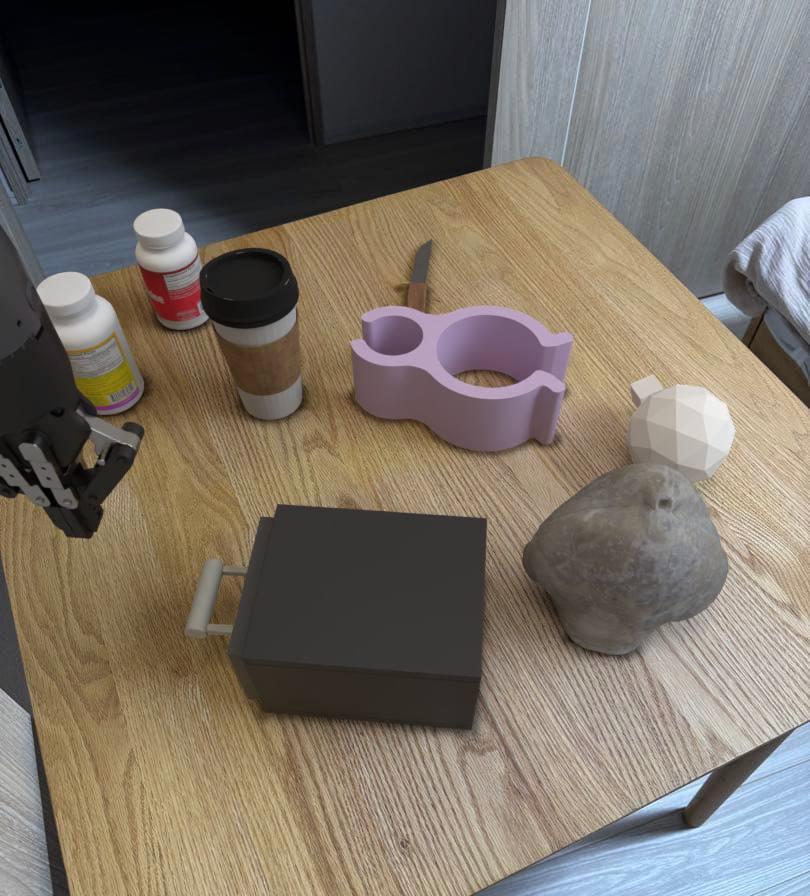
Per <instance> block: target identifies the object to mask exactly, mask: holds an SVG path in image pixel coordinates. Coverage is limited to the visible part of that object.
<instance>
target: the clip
mask: <svg viewBox="0 0 810 896" xmlns="http://www.w3.org/2000/svg"><path fill="white" fill-rule="evenodd" d="M360 319H361V320H360V322H361V333H362V338H357V339H353V340H351V341H350V354H351V364H352V376H353V387H354V388H353V390H354V397H355V401H356V403H357V404H358V405H359V406H360V408H361V409H362V410H364V411H365V412H366V413H368V414H370V415H372V416H374V417H377V418H379V419H385V420H414V421H418V422H421V423H422V424H424V425H426V426H427V427H428V428H429V429H430V430H431V431H432V432H433V433H434V434H435V435H436V436H438V437H439V438H440V439H442V440H444V441H445V442H446V443H449V444H451V445H453V446H455V447H457V448H461V449H464V450H467V451H475V452H499V451H503V450H504V451H505V450H508V449H512V448H514V447H518V446H520V445H521V444H524V443H525V442H527V441H528V440H530V439H535V440H536V441H538V442H539V443H540V444H541V445H543V446H548V445H551V444H552V443H553V442H554V439H555V434H556V431H557V426H558V421H559V417H560V413H561V410H562V405H563V400H564V396H565V392H566V386H567V385H566V384H565V379H566V375H567V370H568V365H569V362H570V357H571V352H572V347H573V344H574V339H575V337H574V336H573V334H572V333H571V332H570V331H569V332H568V331H562V332H560V333H559V332H558V333H551V332H550V331H549V330H548V329H547V327H545V325H544V324H543V323H541V322H540V321H538V320H537V319H536V318H534V317H532V316H531V315H529V314H526V313H525V312H522V311H520V310H517V309H514V308H510V307H505V306H500V305H489V304H486V305H485V304H484V305H482V304H481V305H473V306H467V307H461V308H459V309H456V310H453V311H450V312H447V313H442V314H431V313H426V312H425V313H423V312H420V311H418V310H415V309H412V308H409V307H407V306H403V305H402V306H401V305H387V306H381V307H376V308H374V309H371V310H369V311H367V312H365V313H363V314H362V315H361V316H360ZM473 370H474V371H476V370H486V371H487V370H488V371H494V372H498V373H502V374H505V375H507V376H509V377H511V378H513V379H514V380H516V381H517V383H514V384H511V385H507V386H500V387H485V386H484V387H483V386H478V385H474V384H470V383H466V382H465V381H462V380H460V379H458V378H456V377H454V376H455V375H458V374H461V373H464V372H469V371H473Z"/></svg>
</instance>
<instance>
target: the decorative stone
mask: <svg viewBox="0 0 810 896" xmlns="http://www.w3.org/2000/svg"><path fill="white" fill-rule="evenodd" d="M715 525H716V524H714V522H713V520H712V518H711V513H710V510H709V507H708V506H707V504H706V502H705V501H704V499H703V498H702V496H701V495H700V492H699V490H698V489H697V488H696V486H695V485H694V483H692V482H691V481H690V480H689V479H687V478H686V477H685V476H684V475H683V474H682V473H680V472H679V471H677V470H676V469H674V468H671V467H669V466H666V465H661V464H656V463H637V464H633V463H632V464H629V465H624V466H622V467H618V468H614V469H613V470H610V471H608V472H604V473H602V474H601V475H599V476H597V477H595V478H594V479H593V480H591V481H589V482H588V483H587V484H585V485H584V486H582V487H581V488H580V489H579V490H578V491H577V492H576V493H575V494H574V495H573V496H572V495H571V497H569V498H567V500H565V501H564V502H563V503H562V504H560V505H559V506H557V508H556V509H554V510H553V511H552V512H551V513H550V514H549V516H548V517H546V518H545V519H544V520H543V521H542V522H541V523H540V524H539V526H538V529H537V530H536V531H535V533H533V536H532V538H531V539H530V540H529V541H528V542H527V543H526V544H525V545H524V547H523V549H522V561H521V563H522V567H523V571H524V572H525V574H526V575H527V577H528V578H529V579H530V580H531V581H532V582H533V583H535V584H537V585H539V586H540V587H541V588H543V589H544V590H546V591H547V592H548V593H549V595H550V597H551V599H552V601H553V603H554V605H555V608H556V611H557V616H558V619H559V622H560V624H561V627H562V628H563V630H564V631H565V633H566V634H567V635H568V636H569V638H570V639H571V640H572V642H573V643H575V644H576V645H578V646H580V647H581V648H583V649H586V650H588V651H589V650H590V651H595V652H600V653H604V654H606V655H609V656H622V655H626V654H628V653H631V652H632V651H635V650H636V649H638V648H639V646H640V645H641V643H642V641H643V640H645V639H647V638H648V637H649V636H650V635H651V634H653V632H654V631H655V630H657V628H659V627H661V626H663V625H666V624H668V623H672V622H673V623H674V622H675V623H676V622H683V621H687V620H690V619H692V618H694V617H696V616H698V615H699V614H701V613H702V612H704V611H705V610H707V609H708V608H709V607H710V605H712V604H713V603H715V602H716V600H717V598H718V596H719V595H720V593H721V591H722V590H723V588H724V586H725V584H726V581H727V578H728V574H729V571H730V567H729V565H730V564H729V560H728V557H727V553H726V551H725V549H724V547H723V546H722V542H721V538H720V534H719V532H718V529H717V526H715Z"/></svg>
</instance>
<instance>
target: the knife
mask: <svg viewBox="0 0 810 896" xmlns="http://www.w3.org/2000/svg"><path fill="white" fill-rule="evenodd" d="M432 242H433V238H431V239H429V240H428V241H426V242H425V243H423V244H422V245H420V247H419V249H418V250H417V252H416V253H415V255H414V256H415V257H414V262H413V268H412V272H411V278H410V281H401V282H400V286H401V287H408V292H407V299H406V307H409V308H412V309H415V310H418V311H420V312H423V313H426V303H427V293H428V292H427V291H428V283H427V277H428V276H427V274H428V269H429V264H430V256H431V250H432Z"/></svg>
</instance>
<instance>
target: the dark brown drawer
mask: <svg viewBox="0 0 810 896" xmlns="http://www.w3.org/2000/svg"><path fill="white" fill-rule="evenodd" d="M273 520H274V516H260V517H259V520H258V524H257V529H256V532H255V537H254V540H253V541H254V542H253V545H252V549H251V554H250V558H249V563H248V564H247V565H248V566H241V565H230V564H227V565H226V564H225V563H224V562H223V561H221V560H220V559H217V558H206V559H205V560H204V561H203V564H202V567H201V572H200V575H199V579H198V581H197V585H196V588H195V593H194V596H193V599H192V602H191V606H190V610H189V614H188V617H187V621H186V625H185V627H184V634H185V635H186V636H187V637H189V638H193V639H198V640H200V639H205V638H206V637H207V636H208V635H215V636H216V635H217V636H228V637H230V639H229V643H228V647H227V651H226V656H227V658H228V660H229V662H230V664H231V666H232V668H233V670H234V672H235V674H236V677H237V679H238V681H239V683H240V685H241V687H242V689H243V691H244V693H245V695H246V697H247V699H248V700H256V701H260V699H259V696H258V694H257V692H256V690H255V687H254V685H253V683H252V681H251V678H250V676H249V674H248V672H247V669H246V667H245V665H244V663H243V661H242V653H243V649H244V645H245V640H246V636H247V632H248V627H249V623H250V619H251V614H252V610H253V606H254V602H255V597H256V593H257V589H258V584H259V580H260V576H261V571H262V567H263V563H264V558H265V554H266V550H267V546H268V541H269V537H270V533H271V528H272V524H273ZM223 576H229V577H243V578H244V577H245V578H244V582H243V586H242V590H241V595H240V598H239V601H238V606H237V611H236V614H235V618H234V623H233V625H232V624H220V623H211V622H212V617H213V613H214V610H215V607H216V603H217V599H218V595H219V591H220V587H221V583H222V580H223Z"/></svg>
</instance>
